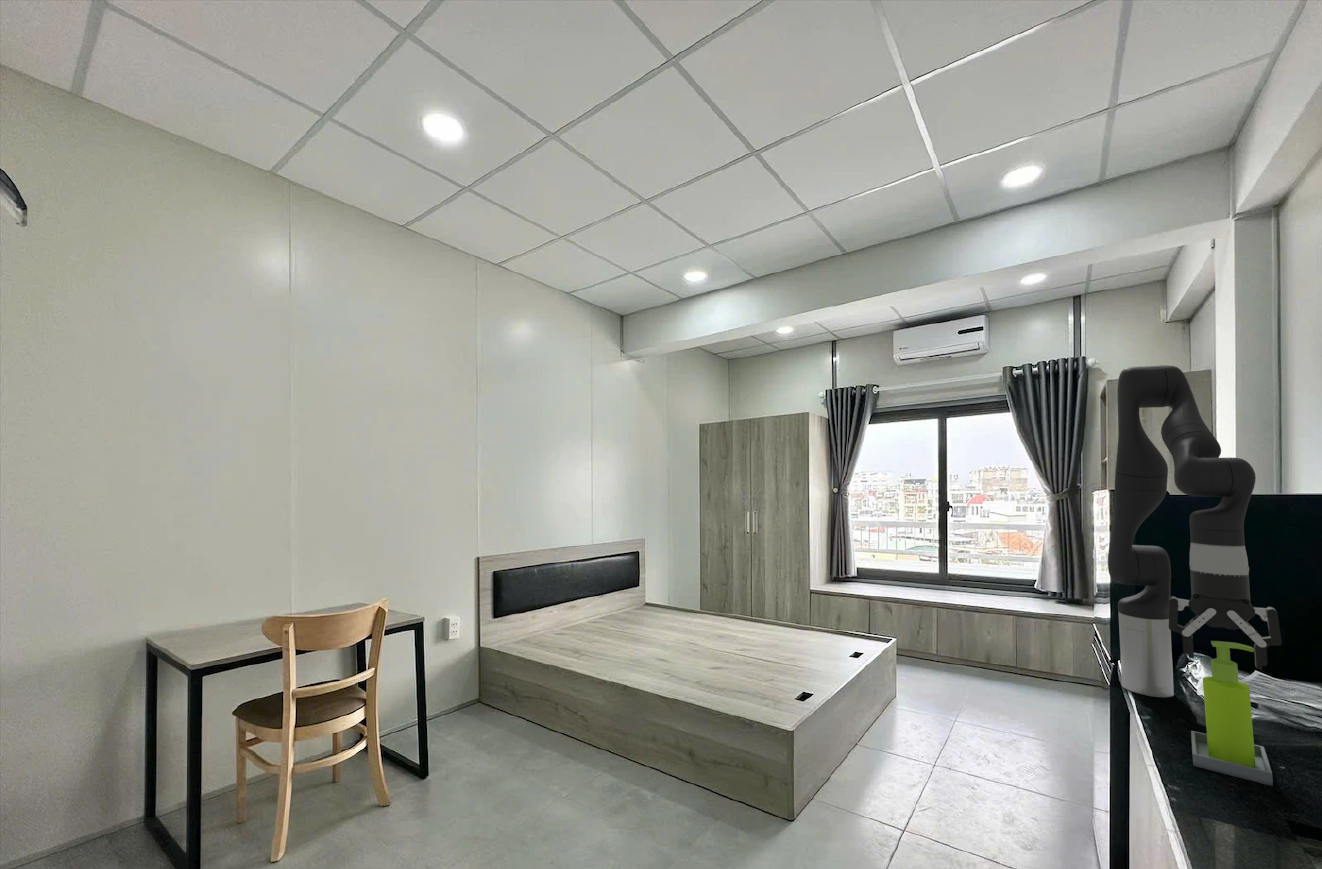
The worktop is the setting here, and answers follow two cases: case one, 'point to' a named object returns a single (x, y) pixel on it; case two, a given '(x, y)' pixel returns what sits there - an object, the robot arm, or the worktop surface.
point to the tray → (1256, 773)
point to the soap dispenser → (1228, 709)
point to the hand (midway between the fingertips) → (1223, 662)
